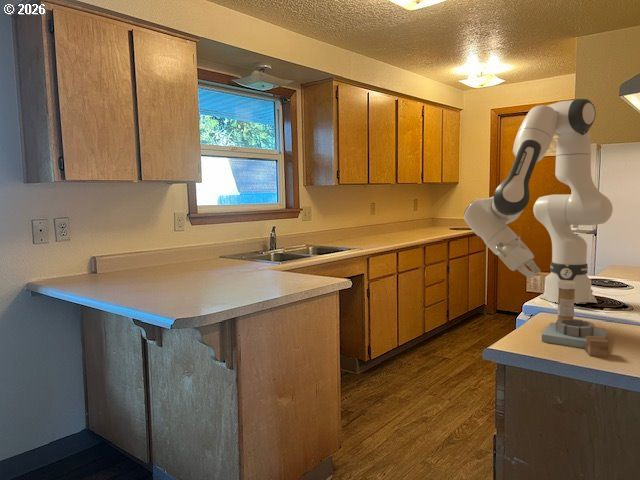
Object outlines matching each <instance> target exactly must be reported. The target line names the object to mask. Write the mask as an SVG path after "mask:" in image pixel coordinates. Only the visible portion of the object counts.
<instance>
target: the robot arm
mask: <svg viewBox="0 0 640 480" xmlns="http://www.w3.org/2000/svg"><path fill="white" fill-rule="evenodd" d="M596 113H597V112H596V107H595V105H594V103H593V102H592V101H591V100H589V99H587V98H576V99H569V100H561V101H557V102H554V103H551V104H550V103H549V104H547V105H543V104H541V105H536V106H534V107H532V108H531V109H529V111H528V113H527V114H526V115H525V117H524V118H523V121H522V123H521V124H520V126H519V128H518V130H517V133H516V136H515V139H514V141H513V146H512V147H513V148H512V154H513V155H514V157H515V158H514V161H513V163H512V166H511V167H510V171H509V173H508V176H507V177H506V178H505V179H504V180H503V181H502V182H501V183H500V184H499V185H498V186H497V187H496V188H495V190H494V194H493V196H490V197H486V198H481V199H480V198H475V199H474V200H472V201H471V202H470V203H469V204H468V205H467V207H466V208H465V210H464V212H463V220H464V222H465V223H466V224H467V226H468V227H469V228H470V229H471V231H473V232H474V234H475V235H476V236H478V237H479V238H481V240H482V241H483V242H484V244H485V245H486V246H487V248H488V249H489V250H491V252H492V253H493V254H495V256H498V258H499V259H500V260H501V261H502V262H503V264H504V265H505V266H506V267H507V268H508V269H509V270H510V271H513V272H515V271H516V270H517V271H518V272H519V273H521V274H522V275H524V276H525V277H526V278H527V279H528V280H531V279H533V278H534V277H535V275H538V274H539V273H540V272H541V269H540V268H539V267H538V266H537V264H536V262H535V261H534V260H533V259H534V258H535V255H534V253H533V252H532V251H531V249H530V248H529V247H528V246H527V245H526V243H524V242H523V240H521V236H520V235H519V234H518V233H517V232H515V231H514V230H512V229H511V228H510V227H509V226H508V225H509V224H511V223H513V222H515V221H516V220H517V219H518V218H519V217H520V216H521V214H522V213H523V212H524V210H525V208H526V207H527V206H528V204H529V202H530V187H529V185H530V180H531V177H532V175H533V173H534V172H533V171H534V170H535V167H536V164H537V163H538V162H541V161H542V160H543V158H544V157H545V155H546V154H547V152H549V149H550V147H551V145H552V142H553V139H554V136H557V143H556V150H555V170H554V171H555V172H554V175H555V178H556V179H557V180H558V182H560V183H561V184H562V183H563V184H564V185H566V186H568V187H569V188H570V190H571V194H563V193H562V194H561V193H560V194H555V193H554V194H549V195H543V196H539V197H538V198H537V199H536V200H535V203H534V204H533V207H532V208H533V210H532V211H533V215H534V218H535V220H537V221H538V222H539V223H540V224H542V225H543V227H545V229H546V231H547V232H548V234H549V237H550V239H551V240H550V241H551V262H550V265H549V266H550V268H549V269H550V273H549V274H548V275H546V276H545V279H544V280H545V284H544V292H543V293H541V294H540V295H539V299H542V300H546V301H549V302H551V303H555V302H556V303H555V304H558V296H559V287H558V282H559V281H573V282H575V283H576V287H575V294H574V299H575V301H574V303H579V302H597V303H598V301H597V298H596V297H595V295H594V294H593V292H594V291H593V290H592V279H591V278H590V277H589V276H588V269H589V266H588V263H587V257H588V255H587V254H588V252H587V251H588V243H587V242H586V240H585V239H584V238H583V237H582V236H580V235H578V234H575V232H574V231H573V230H572V226H596V225H603V224H605V223H607V222H608V221H609V220H610V219H611V217H612V215H613V209H614V208H613V204H612V202H611V200H610V199H609V198H608V196H606V195H604V194H603V193H602V192H601V191H600V190H599V189H598V188H597V187H596V185H595V182H594V181H593V177H592V166H591V165H592V163H591V162H592V140H591V133H590V128H591V127H593V124H594V122H595V120H596ZM571 225H572V226H571ZM526 266H527V267H529V269H528V268H527V267H526Z"/></svg>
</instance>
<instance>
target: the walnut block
mask: <svg viewBox="0 0 640 480" xmlns="http://www.w3.org/2000/svg"><path fill="white" fill-rule="evenodd" d="M609 344H610V343H609V340H607V338H606V339H605V338H604V337H598V336H586V342H585V348H584V351H585V352H586V354H587V355H588V356H589V357H598V358H609Z"/></svg>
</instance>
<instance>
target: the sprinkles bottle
mask: <svg viewBox="0 0 640 480" xmlns="http://www.w3.org/2000/svg"><path fill="white" fill-rule="evenodd" d="M558 287H559V296H558V303H557V320H559V319H574V316H575V305H574V301H575V299H574V294H575V287H576V283H575V282H573V281H559V282H558Z"/></svg>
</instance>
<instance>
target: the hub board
mask: <svg viewBox="0 0 640 480" xmlns="http://www.w3.org/2000/svg"><path fill="white" fill-rule="evenodd" d="M607 331H608V330H607V329H604V328H598V327H597V328H596V327H595V323H593V322H591V321H587V320H583V319H577V318H573V319H559V320H558V319H557V320H556V321H555V322H552V321H551V322H550V323H549V324H548V326H547V327H546V328H545V329H544V330H543V332H542V334H541V342H543V343H549V344H555V345H561V346H568V347H573V348H581V349H585V342H586V336H598V337H604V338H605V339H606V340H607V333H608V332H607Z"/></svg>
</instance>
